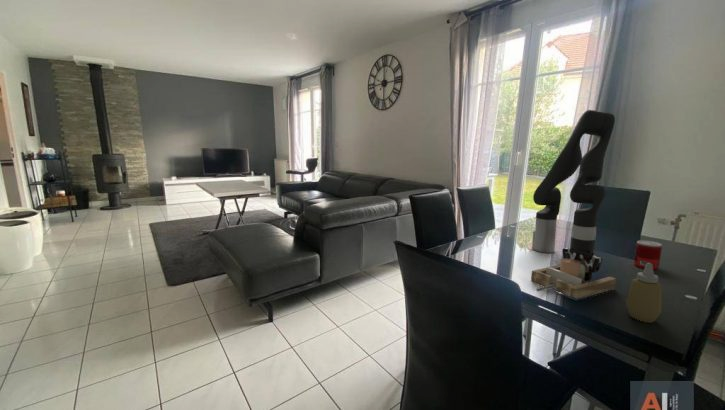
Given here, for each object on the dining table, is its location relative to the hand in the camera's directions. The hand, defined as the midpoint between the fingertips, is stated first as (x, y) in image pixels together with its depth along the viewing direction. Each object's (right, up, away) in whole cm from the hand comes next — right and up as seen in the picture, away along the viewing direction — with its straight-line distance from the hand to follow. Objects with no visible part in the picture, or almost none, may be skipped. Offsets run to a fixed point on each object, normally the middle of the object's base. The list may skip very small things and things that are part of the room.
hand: (579, 277), depth 118 cm
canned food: (+39, +1, +13) cm, 41 cm away
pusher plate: (-14, -4, -5) cm, 16 cm away
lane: (-4, -3, -1) cm, 5 cm away
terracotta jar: (-5, -3, -1) cm, 6 cm away
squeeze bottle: (+2, -7, -24) cm, 25 cm away
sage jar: (0, -2, 0) cm, 2 cm away
